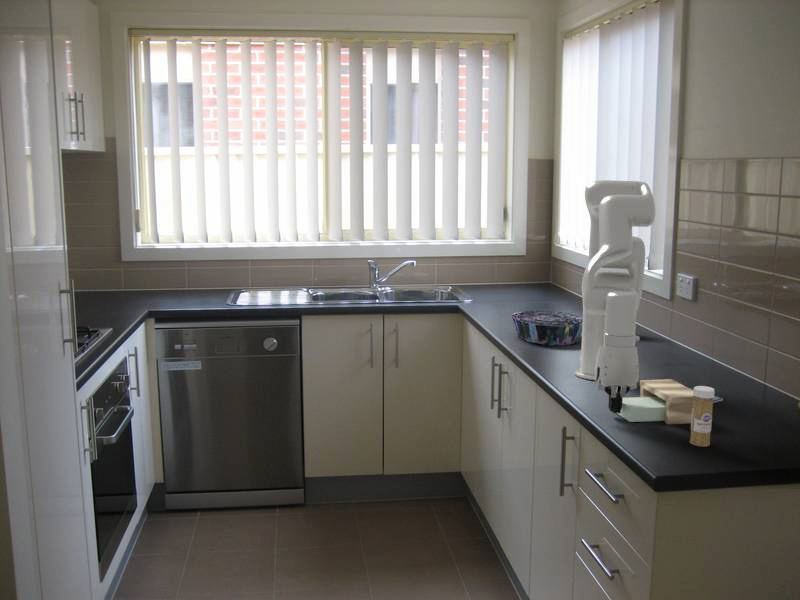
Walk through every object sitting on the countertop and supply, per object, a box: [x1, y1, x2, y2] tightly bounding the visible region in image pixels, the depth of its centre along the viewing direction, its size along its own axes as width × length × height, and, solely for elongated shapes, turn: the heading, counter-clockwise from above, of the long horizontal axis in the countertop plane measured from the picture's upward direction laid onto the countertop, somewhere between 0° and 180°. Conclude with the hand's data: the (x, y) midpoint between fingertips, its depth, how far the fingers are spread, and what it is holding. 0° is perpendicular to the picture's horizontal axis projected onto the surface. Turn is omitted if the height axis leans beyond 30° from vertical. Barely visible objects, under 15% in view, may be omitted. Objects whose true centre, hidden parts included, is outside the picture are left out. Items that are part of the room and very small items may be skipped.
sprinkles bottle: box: [689, 385, 716, 447], centre depth 195 cm, size 5×5×14 cm
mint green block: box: [616, 396, 666, 423], centre depth 216 cm, size 9×16×4 cm, turn 102°
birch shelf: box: [639, 378, 694, 425], centre depth 218 cm, size 16×9×7 cm, turn 12°
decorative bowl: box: [510, 310, 583, 346], centre depth 304 cm, size 26×28×10 cm
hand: (614, 411), depth 215 cm, fingers closed
